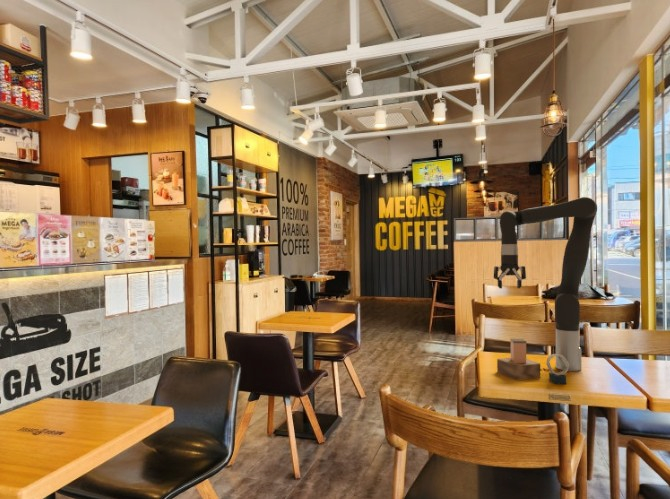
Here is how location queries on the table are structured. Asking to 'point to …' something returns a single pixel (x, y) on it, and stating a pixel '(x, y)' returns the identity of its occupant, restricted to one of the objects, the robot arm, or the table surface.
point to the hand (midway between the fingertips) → (509, 288)
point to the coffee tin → (518, 350)
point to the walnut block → (518, 369)
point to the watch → (558, 376)
